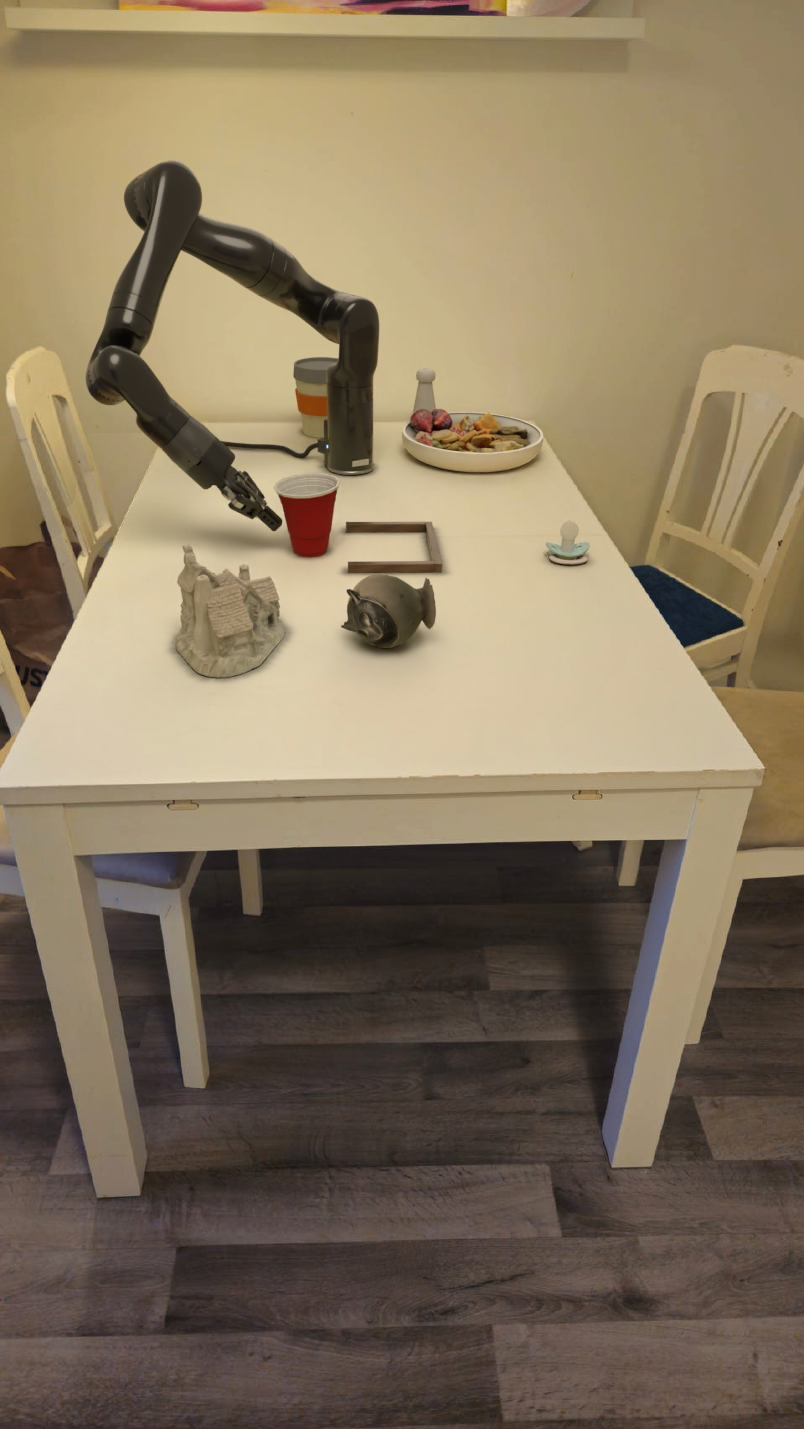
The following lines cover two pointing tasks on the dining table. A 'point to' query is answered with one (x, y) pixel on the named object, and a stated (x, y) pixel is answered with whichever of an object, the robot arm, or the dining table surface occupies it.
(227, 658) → the ceramic cottage
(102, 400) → the robot arm
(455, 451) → the bowl
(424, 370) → the salt shaker
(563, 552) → the pacifier
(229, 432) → the dining table surface
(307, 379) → the reusable coffee cup
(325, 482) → the plastic cup
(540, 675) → the dining table surface
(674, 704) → the dining table surface
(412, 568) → the frame
